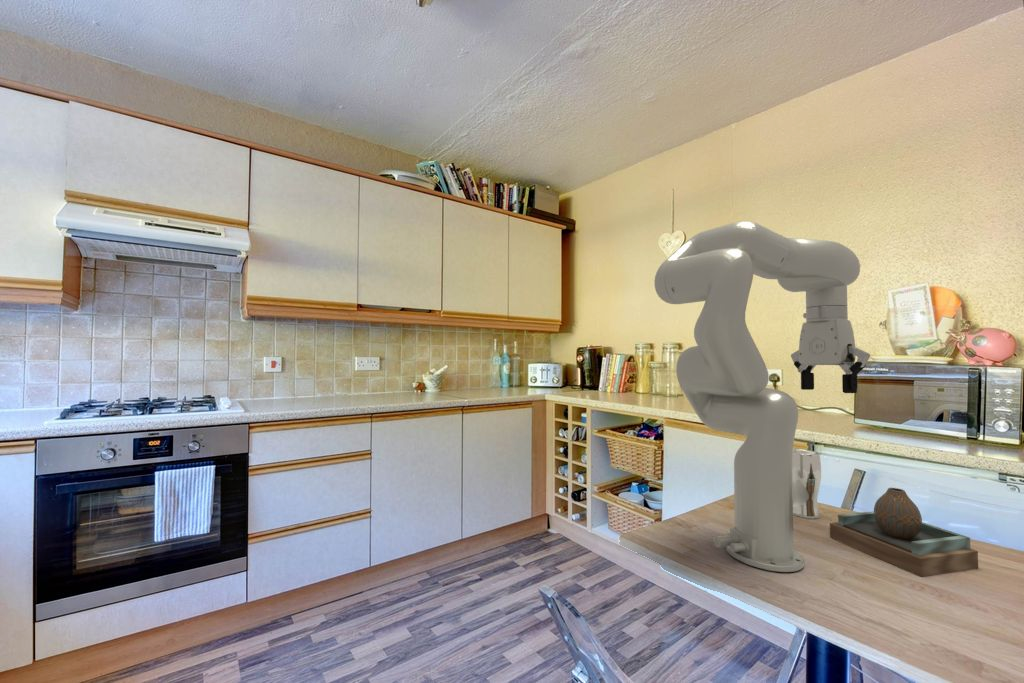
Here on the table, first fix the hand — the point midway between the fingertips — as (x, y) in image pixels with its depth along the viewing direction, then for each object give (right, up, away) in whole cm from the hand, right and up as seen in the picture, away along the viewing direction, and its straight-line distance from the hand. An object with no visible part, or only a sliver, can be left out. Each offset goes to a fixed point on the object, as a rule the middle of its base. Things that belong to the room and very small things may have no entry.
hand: (827, 391), depth 93 cm
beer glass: (0, -31, +7) cm, 32 cm away
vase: (+4, -27, -13) cm, 30 cm away
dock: (+4, -30, -12) cm, 33 cm away
